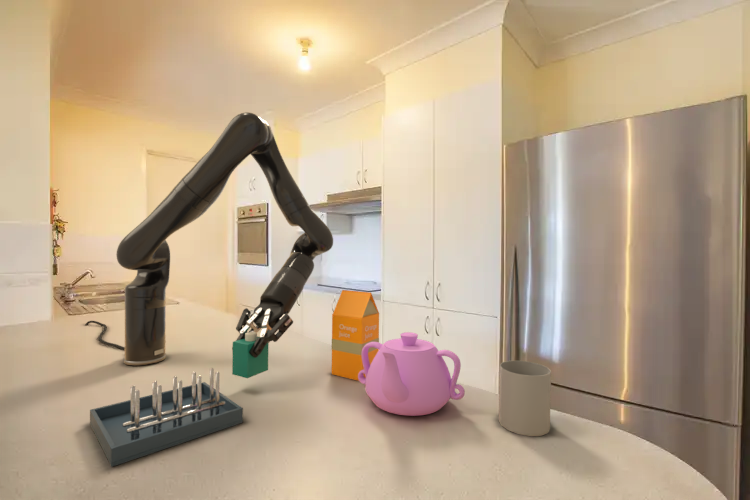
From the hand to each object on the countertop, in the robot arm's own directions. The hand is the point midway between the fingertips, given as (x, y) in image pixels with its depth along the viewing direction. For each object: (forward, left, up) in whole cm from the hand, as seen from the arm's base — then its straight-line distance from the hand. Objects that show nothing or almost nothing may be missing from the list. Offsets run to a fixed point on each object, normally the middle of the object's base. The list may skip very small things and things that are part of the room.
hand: (244, 353), depth 80 cm
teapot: (+29, +19, -8) cm, 35 cm away
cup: (+48, +29, -8) cm, 56 cm away
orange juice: (+8, +25, -8) cm, 27 cm away
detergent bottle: (-1, +2, -5) cm, 5 cm away
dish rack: (+10, -16, -7) cm, 20 cm away
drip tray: (+5, -16, -8) cm, 19 cm away
